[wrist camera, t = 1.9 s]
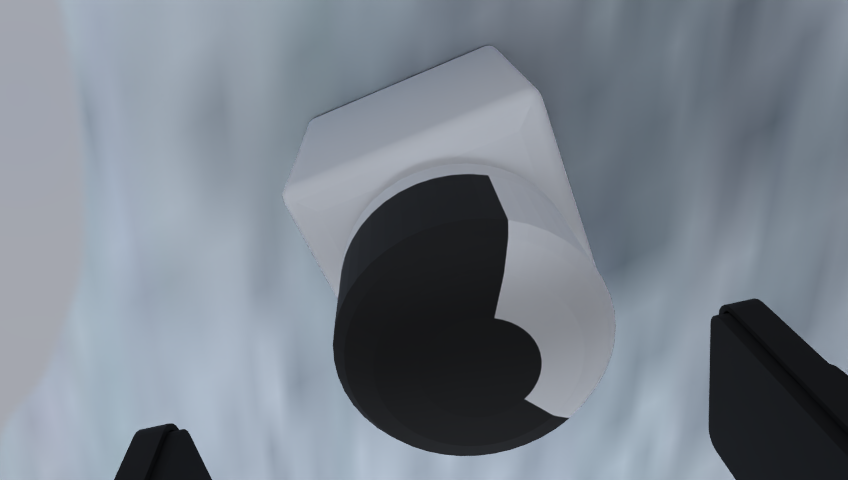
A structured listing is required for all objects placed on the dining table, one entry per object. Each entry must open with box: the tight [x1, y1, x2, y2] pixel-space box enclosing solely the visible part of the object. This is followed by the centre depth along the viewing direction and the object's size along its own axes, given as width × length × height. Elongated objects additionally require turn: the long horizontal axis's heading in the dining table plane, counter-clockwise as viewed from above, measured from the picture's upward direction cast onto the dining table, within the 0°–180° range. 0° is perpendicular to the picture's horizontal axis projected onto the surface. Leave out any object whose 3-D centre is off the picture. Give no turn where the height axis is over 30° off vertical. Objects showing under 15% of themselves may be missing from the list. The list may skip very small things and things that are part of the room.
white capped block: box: [282, 46, 616, 456], centre depth 18 cm, size 7×7×12 cm
